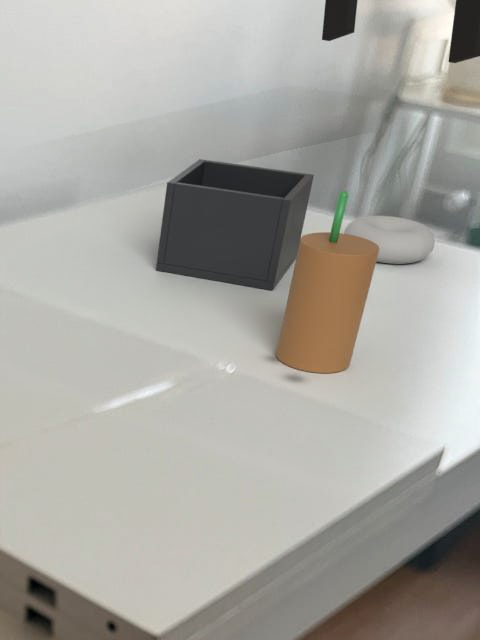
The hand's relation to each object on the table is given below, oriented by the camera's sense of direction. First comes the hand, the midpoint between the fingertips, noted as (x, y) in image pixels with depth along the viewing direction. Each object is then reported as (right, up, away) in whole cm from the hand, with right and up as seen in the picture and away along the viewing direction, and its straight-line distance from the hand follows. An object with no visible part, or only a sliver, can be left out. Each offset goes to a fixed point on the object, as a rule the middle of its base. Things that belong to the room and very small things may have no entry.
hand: (403, 48), depth 82 cm
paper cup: (-4, -22, +9) cm, 24 cm away
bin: (-7, -6, +30) cm, 32 cm away
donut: (+12, -3, +36) cm, 38 cm away
